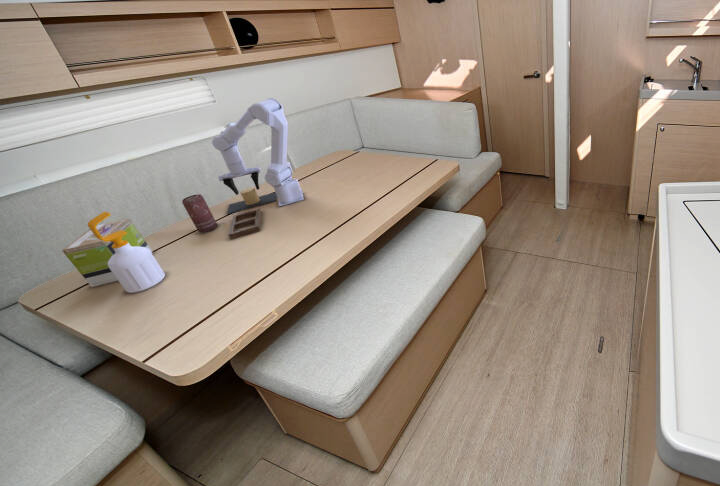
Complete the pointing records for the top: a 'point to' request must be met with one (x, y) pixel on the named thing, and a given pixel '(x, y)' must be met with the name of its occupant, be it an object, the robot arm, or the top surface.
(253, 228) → the holder
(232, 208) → the mat
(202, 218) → the can
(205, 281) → the top surface
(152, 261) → the soap bottle
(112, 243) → the tea box
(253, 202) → the yellow wooden cylinder
